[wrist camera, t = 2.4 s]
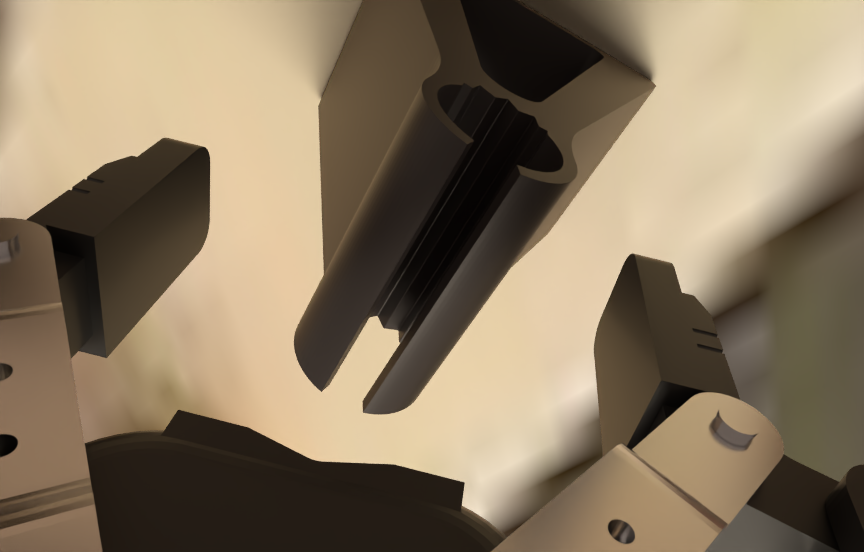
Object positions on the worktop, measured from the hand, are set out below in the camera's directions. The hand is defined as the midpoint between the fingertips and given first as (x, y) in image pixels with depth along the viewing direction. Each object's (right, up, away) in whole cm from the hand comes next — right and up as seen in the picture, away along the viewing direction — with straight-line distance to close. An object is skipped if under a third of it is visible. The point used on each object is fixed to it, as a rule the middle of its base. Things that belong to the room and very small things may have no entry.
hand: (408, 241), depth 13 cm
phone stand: (+2, +5, +9) cm, 11 cm away
